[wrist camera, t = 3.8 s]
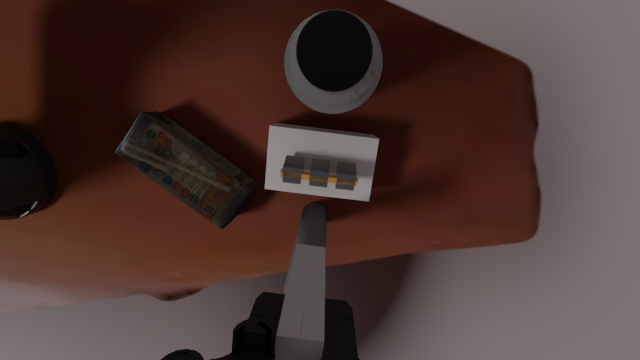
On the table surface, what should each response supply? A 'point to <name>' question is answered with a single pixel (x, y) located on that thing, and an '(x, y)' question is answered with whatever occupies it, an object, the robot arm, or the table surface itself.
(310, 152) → the breaker box
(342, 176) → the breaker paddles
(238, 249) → the table surface
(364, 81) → the thermos bottle
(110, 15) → the table surface
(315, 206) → the post
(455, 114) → the table surface
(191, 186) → the beverage carton
